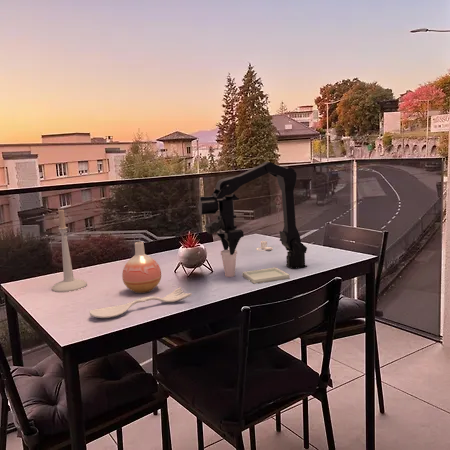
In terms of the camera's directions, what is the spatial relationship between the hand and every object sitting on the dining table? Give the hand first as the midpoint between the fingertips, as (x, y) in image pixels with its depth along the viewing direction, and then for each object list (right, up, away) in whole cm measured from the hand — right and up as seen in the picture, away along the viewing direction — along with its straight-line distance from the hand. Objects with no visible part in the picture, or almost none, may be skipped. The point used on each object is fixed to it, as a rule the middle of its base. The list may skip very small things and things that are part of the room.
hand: (228, 252), depth 178 cm
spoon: (-28, -16, -31) cm, 45 cm away
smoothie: (0, -9, +1) cm, 9 cm away
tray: (+14, -9, -4) cm, 17 cm away
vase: (-31, -13, -12) cm, 35 cm away
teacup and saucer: (+16, -2, +43) cm, 46 cm away
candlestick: (-60, -13, -2) cm, 62 cm away
